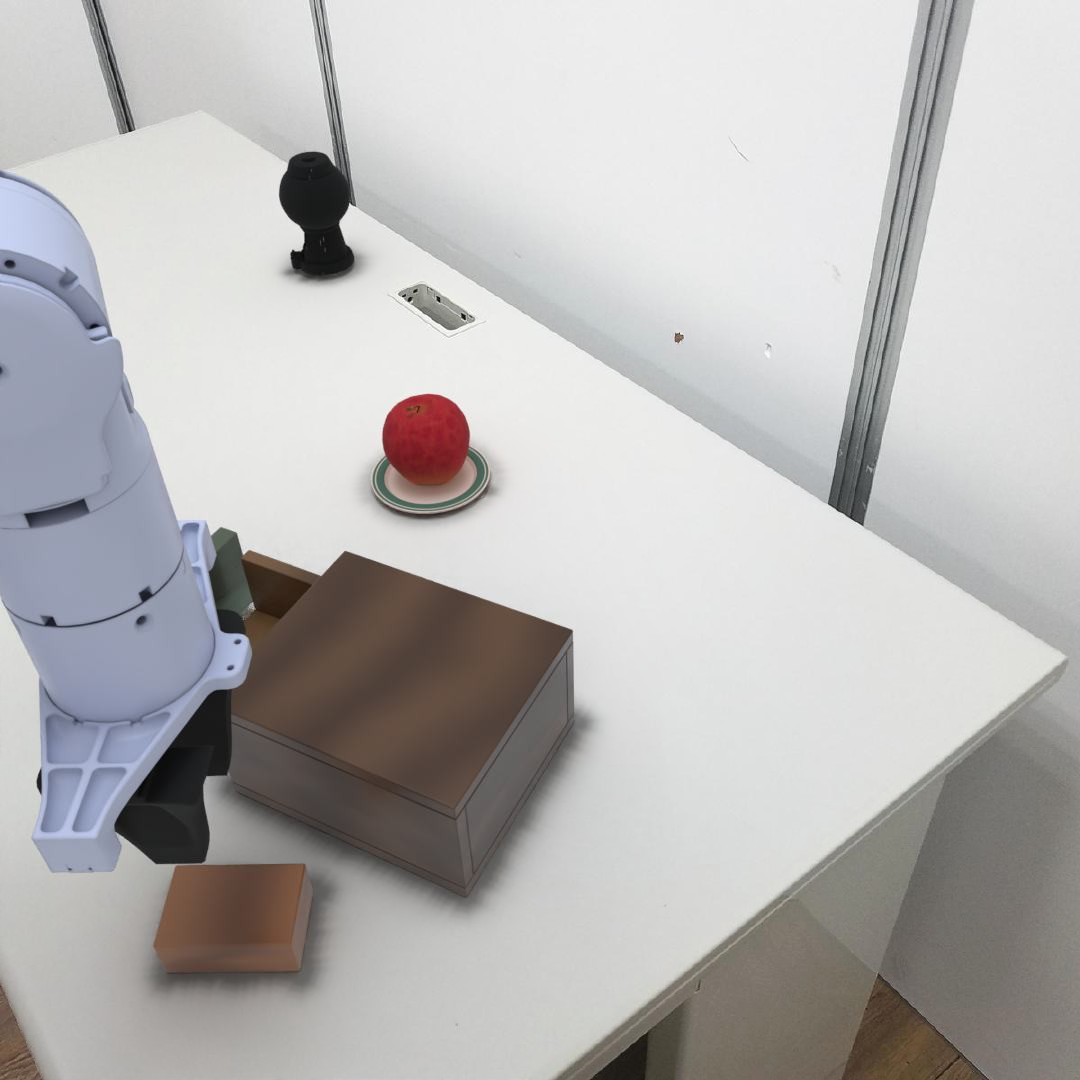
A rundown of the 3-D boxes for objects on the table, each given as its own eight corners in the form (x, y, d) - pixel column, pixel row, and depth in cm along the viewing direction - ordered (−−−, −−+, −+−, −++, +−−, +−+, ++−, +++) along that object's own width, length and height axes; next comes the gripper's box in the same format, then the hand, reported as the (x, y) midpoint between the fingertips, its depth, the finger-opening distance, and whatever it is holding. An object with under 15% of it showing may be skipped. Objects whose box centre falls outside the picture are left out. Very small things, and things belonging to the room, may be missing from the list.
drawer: (55, 688, 61) (22, 621, 57) (181, 570, 68) (159, 504, 64) (307, 803, 55) (288, 735, 51) (418, 661, 62) (408, 592, 58)
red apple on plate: (364, 520, 72) (350, 439, 68) (379, 445, 78) (366, 367, 74) (487, 518, 72) (481, 436, 68) (492, 443, 78) (487, 364, 74)
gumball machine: (289, 253, 100) (267, 144, 93) (354, 243, 101) (338, 135, 94) (297, 289, 95) (275, 176, 88) (365, 278, 96) (349, 166, 90)
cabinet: (235, 791, 57) (202, 700, 52) (362, 640, 64) (344, 549, 59) (466, 898, 52) (454, 809, 47) (574, 721, 59) (573, 629, 55)
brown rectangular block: (166, 973, 49) (151, 946, 48) (187, 892, 52) (175, 864, 51) (300, 972, 49) (290, 944, 48) (314, 890, 52) (305, 862, 51)
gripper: (158, 743, 30) (258, 984, 39) (260, 426, 41) (319, 672, 50) (-100, 748, 30) (59, 987, 39) (70, 430, 41) (163, 675, 50)
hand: (193, 811), depth 45 cm, fingers open, 3 cm apart
